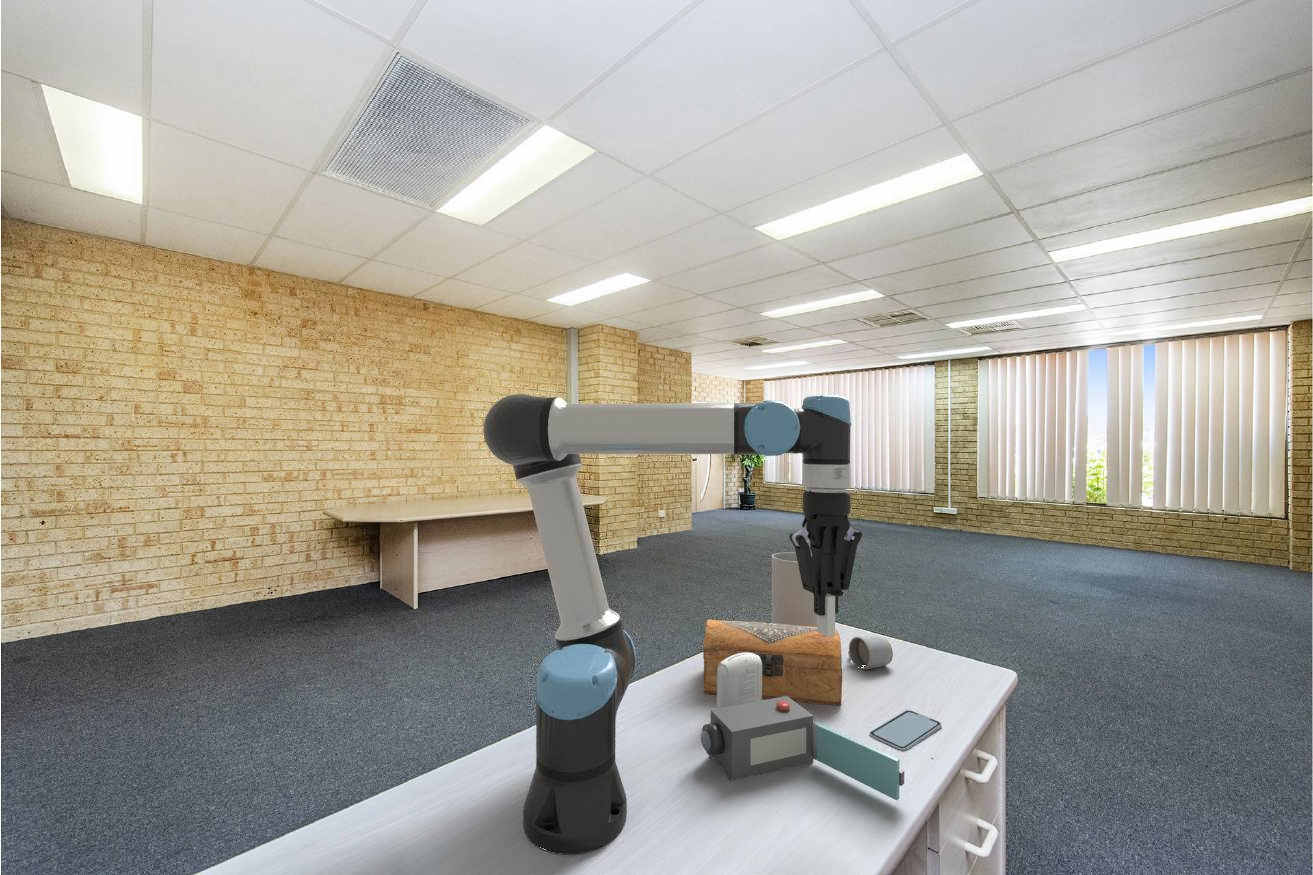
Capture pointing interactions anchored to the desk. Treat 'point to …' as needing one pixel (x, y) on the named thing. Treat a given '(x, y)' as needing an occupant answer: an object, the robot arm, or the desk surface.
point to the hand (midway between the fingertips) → (825, 633)
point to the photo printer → (739, 680)
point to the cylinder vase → (790, 593)
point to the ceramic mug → (870, 651)
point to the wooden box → (779, 659)
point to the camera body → (759, 737)
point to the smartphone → (905, 730)
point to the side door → (857, 760)
